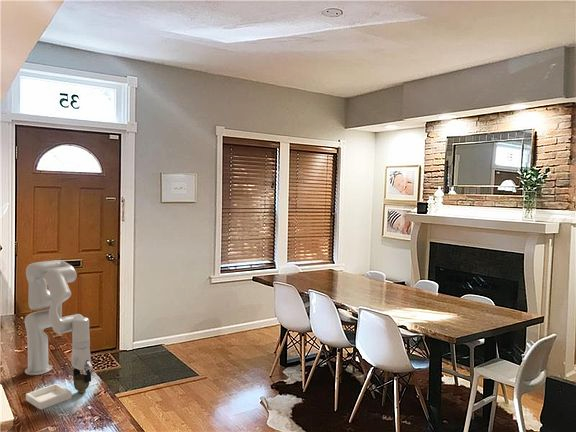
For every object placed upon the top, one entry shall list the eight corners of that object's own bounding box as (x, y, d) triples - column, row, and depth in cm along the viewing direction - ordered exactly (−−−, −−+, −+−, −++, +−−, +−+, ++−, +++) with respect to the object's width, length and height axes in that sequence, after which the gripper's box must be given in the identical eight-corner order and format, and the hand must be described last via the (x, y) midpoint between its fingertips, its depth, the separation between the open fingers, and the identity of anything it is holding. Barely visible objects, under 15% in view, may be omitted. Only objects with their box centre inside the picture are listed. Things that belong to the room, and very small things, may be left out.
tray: (26, 400, 211) (25, 393, 210) (56, 389, 222) (56, 383, 221) (40, 409, 202) (40, 402, 202) (71, 398, 213) (71, 391, 213)
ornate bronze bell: (73, 390, 221) (73, 374, 221) (90, 388, 224) (90, 372, 223) (72, 397, 214) (72, 380, 214) (89, 394, 217) (89, 378, 216)
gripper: (64, 342, 220) (65, 377, 221) (83, 350, 209) (84, 386, 210) (79, 338, 226) (80, 372, 227) (98, 345, 215) (99, 381, 216)
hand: (82, 379), depth 218 cm, fingers open, 9 cm apart
